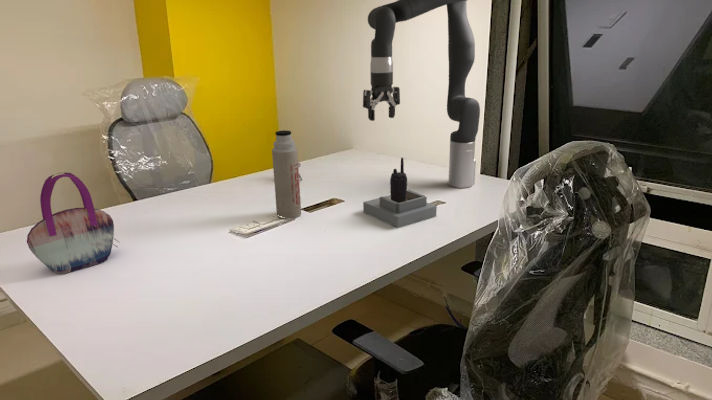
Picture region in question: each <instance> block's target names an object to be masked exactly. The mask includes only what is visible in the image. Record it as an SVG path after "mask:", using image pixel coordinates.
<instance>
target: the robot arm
mask: <svg viewBox="0 0 712 400" xmlns="http://www.w3.org/2000/svg"><path fill="white" fill-rule="evenodd" d="M467 1H468V0H396V1H393V2H390V3H386V4H384V5H380V6H377V7H374V8H373V9H371V11H370V12H369V13H368V15H367V24H368V25H369V27H370V28H371V29H372V30H373V29H374V30H375V31H374V37H373V39H372V40H371V42H370V43H371V44H370V65H369V66H370V70H369V71H370V85H371V86H370V87H371V89H370V90H369V89H363V91H362V92H363V95H362V108H364V109H367V113H368V114H367V115H368V116H367V117H368V120H369V121H371V122H374V121H375V120H376V115H375V114H376V113H375V112H376V110H375V108H376V107H377V106H378V104H379V103H382V102H386V103H387V104H388V118H390V119H394V118H395V115H396V107H397V106H398V105H400V104H401V93H400V92H401V91H400V90H401V89H400V87H399V86H392V85H393V84H394V76H393V75H394V62H393V40H394V36H395V31H396V23H402V22H406V21H409V20H411V19H414V18H417V17H420V16H421V15H424V14H426V13H428V12H431V11H433V10H435V9H438V8H440V7H443V6H446V11H447V31H448V32H447V35H448V37H447V38H448V42H447V43H448V45H447V48H448V49H447V54H448V88H447V97H446V98H447V99H446V100H447V101H446V113H447V116H448V117H449V120H451V121H453V122H457V123H458V129H457V130H455V131H452V132H451V133H450V135H449V137H450V139H449V140H450V141H449V158H448V159H449V160H448V161H449V162H448V185H449V186H450V187H453V188H458V189H459V188H460V189H461V188H462V189H463V188H465V189H466V188H471V187H473V186H474V185H475V181H476V166H477V165H476V164H477V161H476V159H475V154H476V153H475V151H476V149H475V148H476V137H477V134H478V132H479V124H480V113H481V108H480V107H481V106H480V103H479V101H478V100H477V99H475V98H471V97H467V96H466V81H467V79H468V76H469V73H470V72H471V70H472V68H473V65H474V64H475V59H476V58H475V57H476V55H475V54H476V50H475V49H476V42H475V35H474V33H473V29H472V27H471V24H470V21H469V18H468V13H467V11H468V10H467Z"/></svg>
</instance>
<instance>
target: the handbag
mask: <svg viewBox="0 0 712 400" xmlns="http://www.w3.org/2000/svg"><path fill="white" fill-rule="evenodd" d="M61 178H69V179H70V180H71V181H72V183H73V184H74V185H75V187H76V188H77V190H78V192H79V194H80V197H81V201H82V205H83V207H75V208H68V209H64V210H62V211H61V210H60V211H58V212H55V213H52V205H51V199H52V194H53V190H54V188H55V186H56V182H57V181H58V180H60V179H61ZM90 193H91V192H90V191H89V189H88V187H87V186H86V184H85V183H84V182H83V181H82V180H81V179H80V178H79V177H77V176H76V175H75V174H74V173H71V172H63V173H60V172H57V173H56V174H52V175H49V176H48V177H47V178H46V179H45V181H44V183H43V184H42V188H41V191H40V197H39V199H40V200H39V201H40V209H41V210H40V211H41V215H42V220H40V221H38V222H37V223H36V224H35V225H33V227H31V228H30V230H29V232H28V233H27V236H26V243H27V246H28V248H29V250H30V251H31V253H32V254H33V255H34V256H35V257H36V258H37V260H39V261H40V262H41V263H42V264H43V265H44V266H45V267H46V268H48V269H49V270H51V271H52V272H55V273H56V274H68V273H72V272H76V271H78V270H81V269H82V270H83V269H85V268H89V267H92V266H96V265H99V264H102V263H104V262H106V261H108V258H109V257H110V255H111V253H112V248H113V246H114V247H116V248H118V245H116V244H114V240H115V241H116V242H118V243H120V241H119V240H118V239H116V238H114V235H115V226H114V225H115V224H114V220H113V218H112V217H111V215H110V214H108V213H107V212H105V211H103V210H101V209H98V208H95V206H94V202H93V199H92V196H91V194H90Z"/></svg>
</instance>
